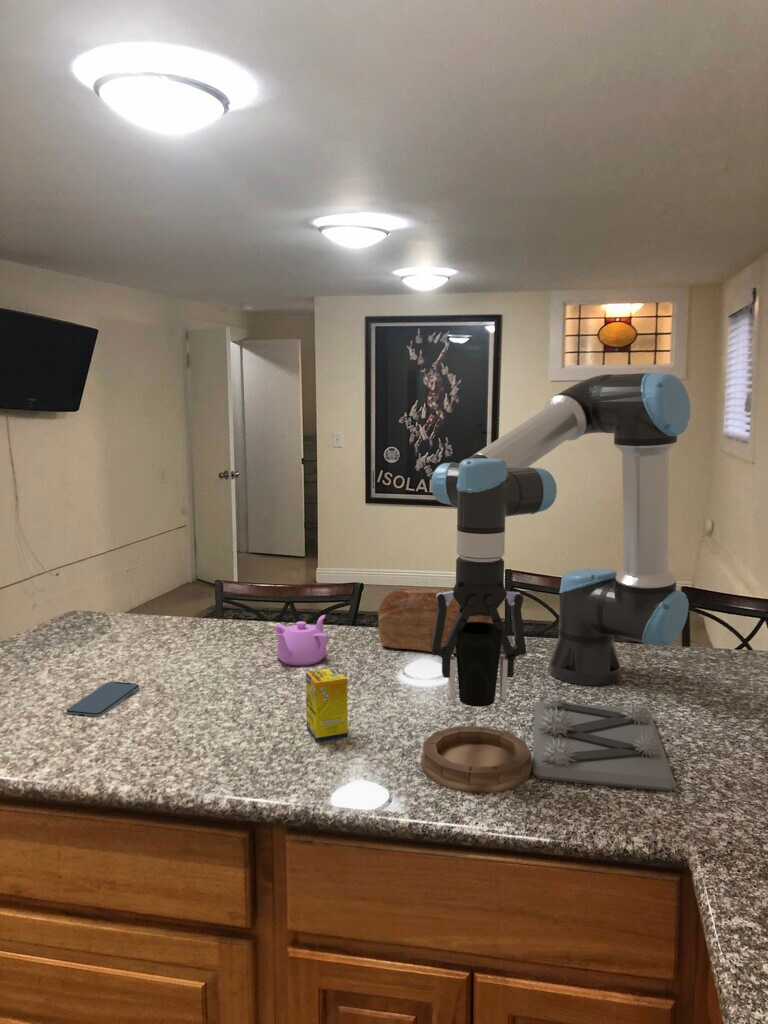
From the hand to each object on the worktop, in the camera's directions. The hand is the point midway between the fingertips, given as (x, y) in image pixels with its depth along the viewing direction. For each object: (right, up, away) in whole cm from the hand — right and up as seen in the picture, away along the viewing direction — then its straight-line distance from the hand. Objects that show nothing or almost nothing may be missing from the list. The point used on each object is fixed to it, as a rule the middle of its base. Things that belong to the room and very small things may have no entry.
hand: (477, 696), depth 125 cm
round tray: (0, -12, +2) cm, 12 cm away
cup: (0, -1, 0) cm, 1 cm away
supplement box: (-25, -10, +14) cm, 31 cm away
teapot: (-34, -5, +54) cm, 64 cm away
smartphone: (-71, -9, +29) cm, 77 cm away
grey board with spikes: (+22, -12, +9) cm, 26 cm away
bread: (-2, -4, +63) cm, 63 cm away
